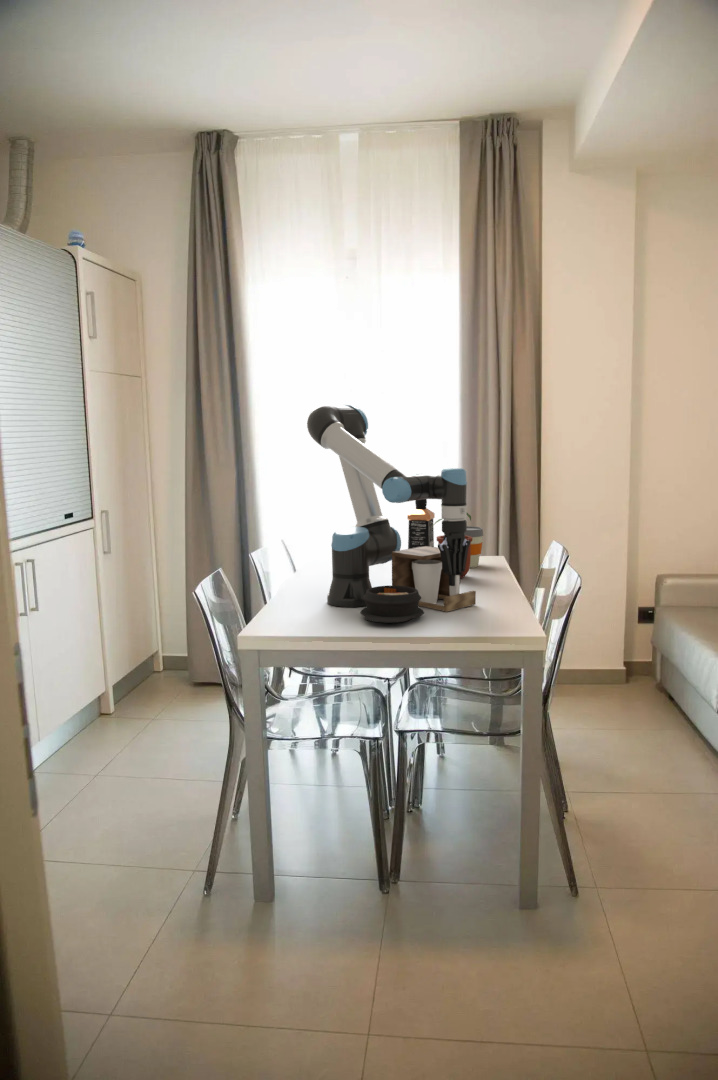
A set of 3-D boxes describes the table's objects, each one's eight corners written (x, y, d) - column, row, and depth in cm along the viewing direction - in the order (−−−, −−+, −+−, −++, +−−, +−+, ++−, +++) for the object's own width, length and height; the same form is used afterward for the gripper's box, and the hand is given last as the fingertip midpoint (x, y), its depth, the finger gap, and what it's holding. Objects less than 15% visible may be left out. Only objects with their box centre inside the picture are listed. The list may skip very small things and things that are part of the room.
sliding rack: (446, 611, 243) (446, 598, 242) (397, 601, 257) (397, 588, 257) (475, 604, 252) (475, 591, 252) (426, 595, 267) (426, 582, 266)
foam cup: (441, 599, 262) (441, 559, 260) (441, 605, 253) (442, 564, 251) (412, 598, 263) (412, 559, 261) (411, 605, 254) (411, 564, 252)
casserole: (370, 607, 251) (370, 580, 250) (430, 610, 247) (430, 583, 246) (350, 627, 227) (350, 597, 226) (416, 630, 223) (416, 600, 222)
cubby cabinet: (422, 608, 249) (422, 556, 247) (392, 602, 258) (391, 551, 256) (456, 600, 260) (456, 550, 258) (426, 594, 269) (426, 546, 267)
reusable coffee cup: (487, 564, 325) (488, 527, 323) (474, 569, 314) (475, 531, 312) (459, 562, 332) (459, 525, 329) (445, 566, 321) (445, 529, 319)
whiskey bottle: (412, 558, 340) (412, 482, 336) (435, 559, 337) (435, 482, 333) (406, 562, 331) (405, 484, 326) (429, 564, 328) (429, 484, 323)
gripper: (449, 522, 239) (450, 600, 242) (477, 518, 248) (477, 594, 251) (430, 520, 244) (431, 597, 247) (458, 516, 253) (458, 591, 256)
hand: (454, 595), depth 249 cm, fingers closed
